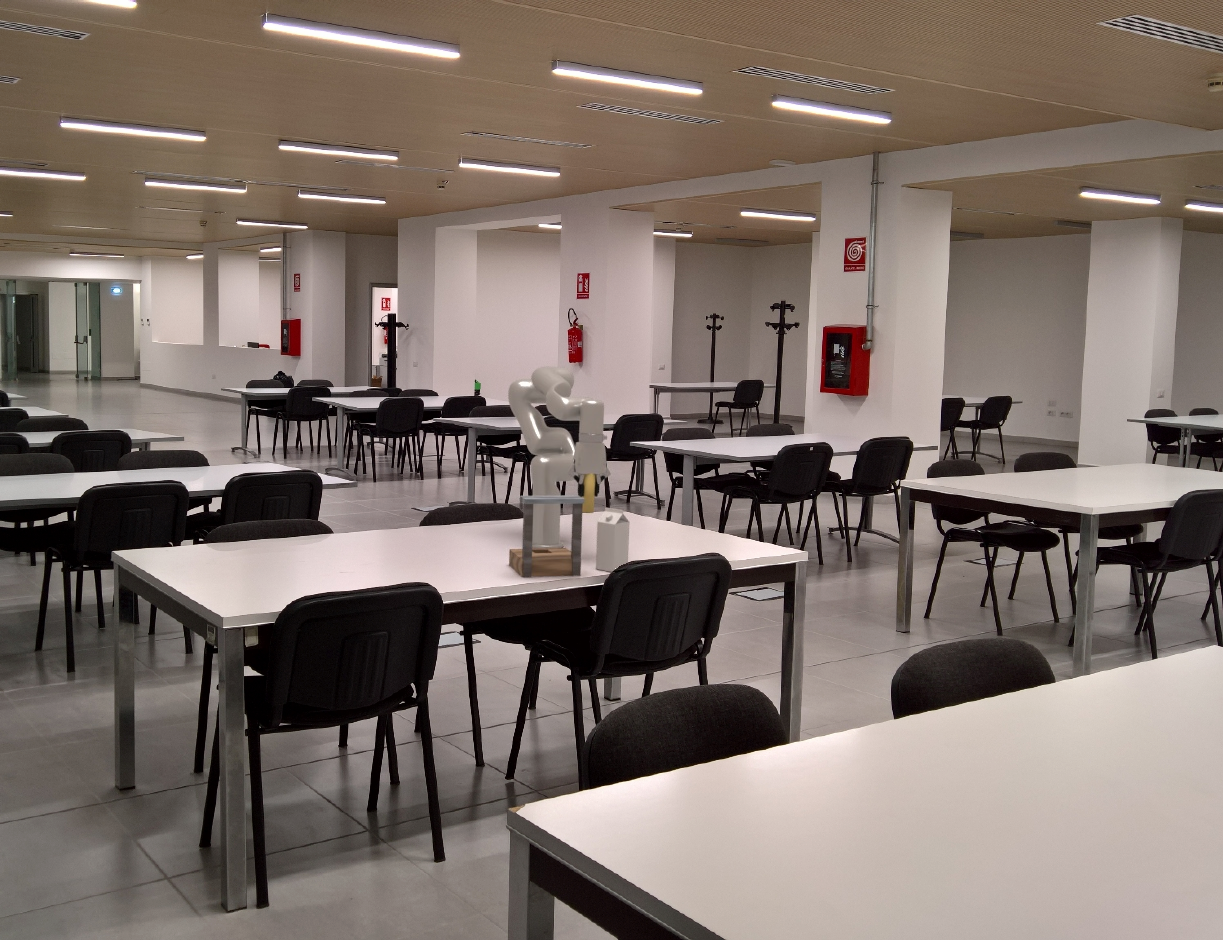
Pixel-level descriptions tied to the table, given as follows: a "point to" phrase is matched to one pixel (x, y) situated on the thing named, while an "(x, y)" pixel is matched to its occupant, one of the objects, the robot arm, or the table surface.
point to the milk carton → (612, 540)
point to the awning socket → (548, 559)
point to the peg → (589, 493)
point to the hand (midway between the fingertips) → (588, 495)
